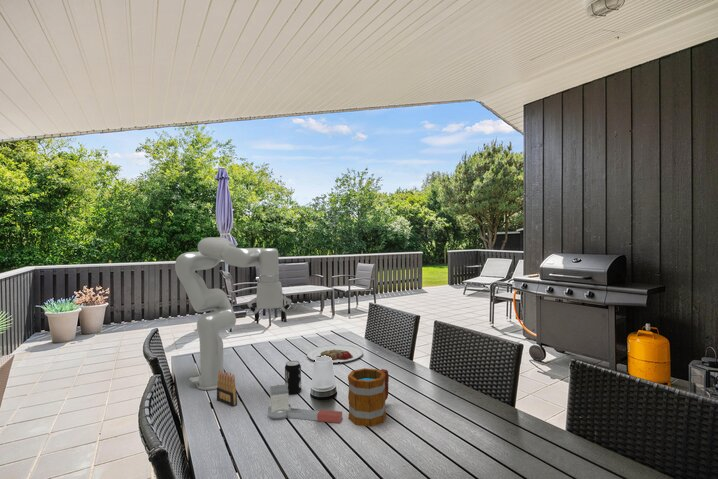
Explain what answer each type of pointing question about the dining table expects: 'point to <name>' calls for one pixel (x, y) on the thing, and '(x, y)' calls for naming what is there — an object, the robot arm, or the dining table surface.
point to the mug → (368, 396)
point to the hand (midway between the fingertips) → (270, 322)
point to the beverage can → (293, 377)
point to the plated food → (336, 352)
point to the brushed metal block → (279, 398)
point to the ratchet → (307, 415)
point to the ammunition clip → (226, 389)
